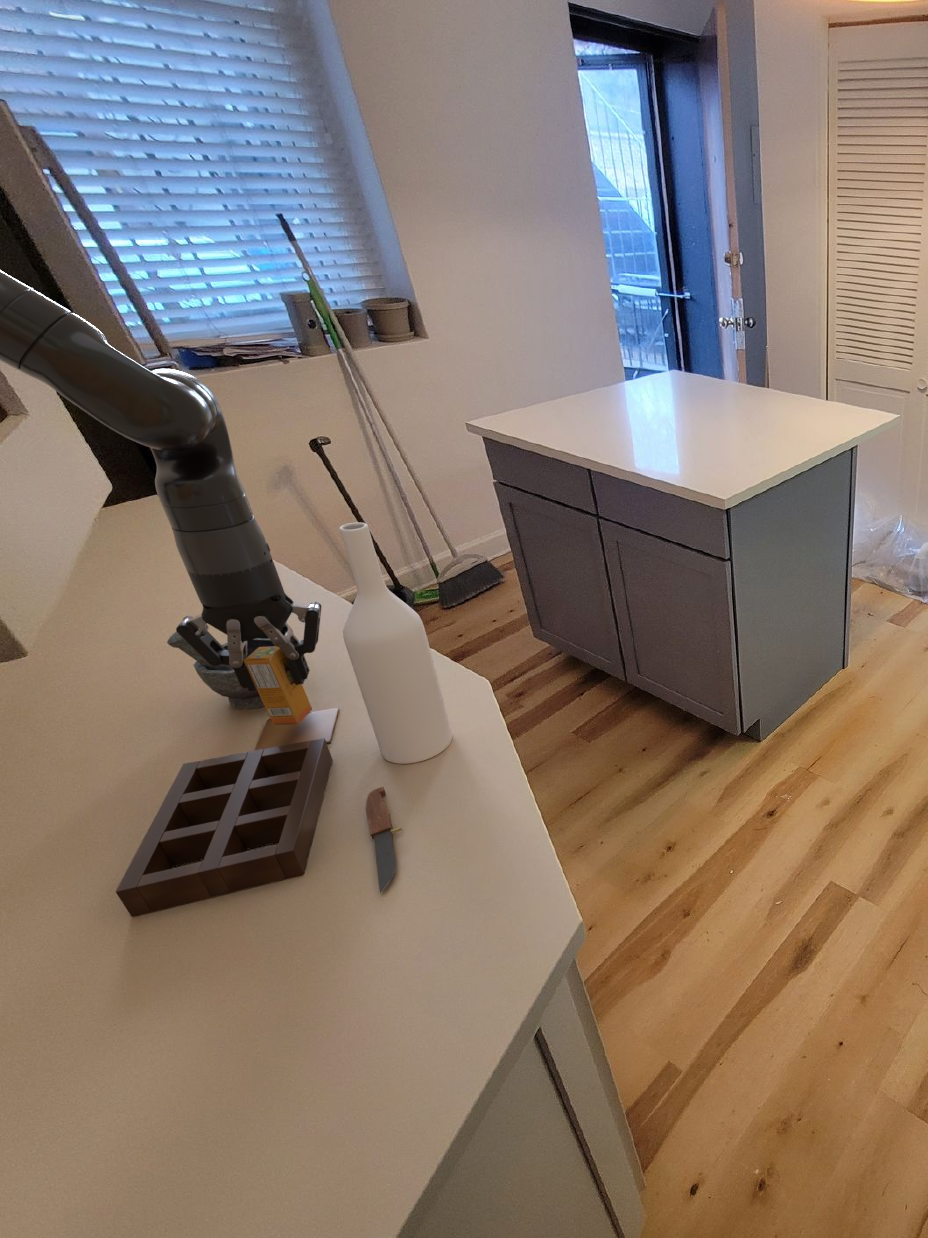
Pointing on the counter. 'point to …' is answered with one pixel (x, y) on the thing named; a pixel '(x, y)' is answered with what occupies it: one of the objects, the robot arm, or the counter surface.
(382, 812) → the knife
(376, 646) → the bottle
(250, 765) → the rack
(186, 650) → the mortar and pestle
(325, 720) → the coaster
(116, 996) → the counter surface
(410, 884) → the counter surface
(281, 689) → the supplement box
